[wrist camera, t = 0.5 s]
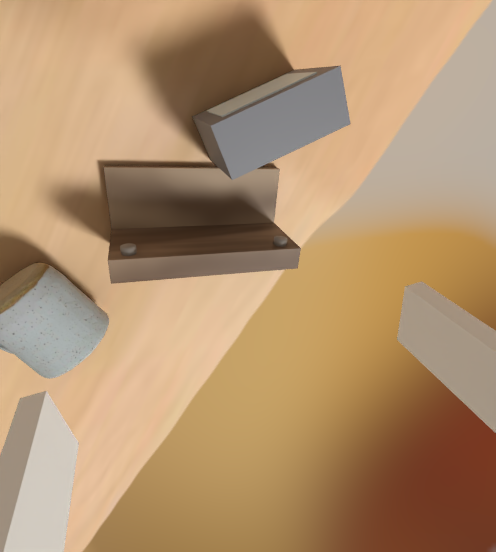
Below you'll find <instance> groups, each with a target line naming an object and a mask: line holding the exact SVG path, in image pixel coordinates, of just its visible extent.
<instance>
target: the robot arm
mask: <svg viewBox="0 0 496 552" xmlns="http://www.w3.org/2000/svg"><path fill="white" fill-rule="evenodd" d="M397 340H398V341H399V342H400V343H401V344H402V345H403V346H404V347H405V348H406V349H407V350H409V351H410V352H411V353H412V354H413V355H414V356H415V357H416V358H417V359H418V360H419V361H420V362H421V363H422V364H423V365H424V366H425V367H427V368H428V369H429V370H430V371H431V372H432V373H433V374H434V375H435V376H436V377H437V378H438V379H439V380H440V381H441V382H442V383H443V384H444V385H445V386H447V387H448V388H449V389H450V390H451V391H452V392H453V393H454V394H455V395H456V396H457V397H458V398H459V399H460V400H461V401H462V402H464V403H465V404H466V405H467V406H468V407H469V408H470V409H471V410H472V411H473V412H474V413H475V414H476V415H477V416H478V417H479V418H480V419H481V420H482V421H484V422H485V423H486V424H487V425H488V426H489V427H490V428H491V429H492V430H493V431H494V432H495V433H496V331H495V330H493V329H492V328H490V327H489V326H487V325H486V324H484V323H483V322H481V321H480V320H478V319H477V318H475V317H474V316H472V315H471V314H469V313H468V312H466V311H465V310H464V309H462V308H461V307H459V306H458V305H456V304H454V303H453V302H451V301H450V300H448V299H447V298H446V297H444V296H443V295H441V294H440V293H438V292H436V291H435V290H434V289H432V288H431V287H429V286H428V285H426V284H425V283H423V282H419V283H415V284H412V285H409V286H405V292H404V298H403V304H402V311H401V318H400V324H399V330H398V337H397ZM78 445H79V443H78V441H77V440H76V438H75V436H74V435H73V433H72V431H71V430H70V428H69V427H68V425H67V423H66V422H65V420H64V418H63V417H62V415H61V414H60V412H59V410H58V409H57V407H56V405H55V404H54V402H53V401H52V399H51V397H50V396H49V394H48V392H47V391H44V392H41V393H37V394H34V395H30V396H27V397H23V398H20V400H19V403H18V406H17V409H16V412H15V415H14V418H13V420H12V423H11V426H10V429H9V432H8V435H7V438H6V441H5V444H4V446H3V449H2V452H1V455H0V552H64V546H65V539H66V531H67V524H68V517H69V510H70V502H71V495H72V488H73V481H74V474H75V466H76V459H77V452H78Z"/></svg>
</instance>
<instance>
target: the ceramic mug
mask: <svg viewBox="0 0 496 552" xmlns="http://www.w3.org/2000/svg"><path fill="white" fill-rule="evenodd" d="M108 324H109V318H108V315H107V314H106V313H105V312H104V311H103V310H102V309H101V308H99V307H98V306H97V305H96V304H95V303H94V302H93V301H92V300H91V299H90V298H88V297H87V296H86V295H85V294H84V293H83V292H82V291H80V290H79V289H78V288H77V287H76V286H75V285H73V284H72V283H71V282H70V281H69V280H68V279H67V278H66V277H65V276H64V275H63V274H61V273H60V272H59V271H58V270H56V269H54V268H53V267H52V266H50V265H48V264H46V263H34V264H32V265H29V266H28V267H26V268H24V269H22V270H21V271H19V272H18V273H16V274H15V275H13V276H12V277H11V278H9V279H8V280H7V281H5V282H4V283H3V284H2V285H0V349H2V350H4V351H6V352H9V353H12V354H15V355H16V356H17V357H18V358H19V359H21V360H22V361H23V362H24V363H26V364H27V365H28V366H29V367H31V368H32V369H33V370H34V371H36V372H37V373H38V374H39V375H41V376H43V377H45V378H55V377H58V376H60V375H62V374H65V373H66V372H68V371H70V370H71V369H73V368H74V367H75V366H76V365H78V364H79V363H80V362H82V361H83V360H84V359H85V358H86V357H87V356H89V355H90V354H91V353H92V351H93V350H94V349H95V348H96V346H97V345H98V344H99V342H100V341H101V340H102V338H103V337H104V335H105V332H106V330H107V327H108Z"/></svg>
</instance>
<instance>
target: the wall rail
mask: <svg viewBox="0 0 496 552" xmlns="http://www.w3.org/2000/svg"><path fill="white" fill-rule="evenodd" d="M279 171H280V169H278V168H272V167H259V168H257V169H255V170H253V171H251V172H249V173H246V174H244V175H242V176H240V177H238V178H236V179H234V180H232V179H230V178H229V177H228V176H227V175H226V174H225V173H224V172H223V171H222V170H221V169H220V168H218V167H189V166H106V165H104V174H105V182H106V190H107V198H108V206H109V213H110V221H111V238H110V246H109V255H108V265H109V272H110V279H111V284H112V283H124V282H136V281H148V280H161V279H173V278H185V277H197V276H209V275H222V274H234V273H246V272H258V271H270V270H283V269H295V268H298V262H299V255H300V249H301V248H300V247H299V246H298V245H297V244H296V243H295V242H294V241H292V240H291V239H290V238H289V237H288V236H287V235H286V234H285V233H284V232H283V231H282V230H281V229H280V228H279V227H278V226H277V225H276V224H275V223H274V217H275V208H276V198H277V189H278V180H279Z"/></svg>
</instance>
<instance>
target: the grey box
mask: <svg viewBox="0 0 496 552" xmlns="http://www.w3.org/2000/svg"><path fill="white" fill-rule="evenodd" d="M193 120H194V122H195V124H196V127H197V129H198V131H199V134H200V136H201V139H202V141H203V143H204V146H205V148H206V150H207V153H208V155H209V157H210V160H211V161H212V162H213V163H214V164H215V165H216V166H217V167H218V168H220V169H221V170H222V171H223V172H224V173H225V174H226V175H227V176H228V177H229V178H230V179H232V180H234V179H236V178H238V177H240V176H242V175H244V174H246V173H249V172H251V171H253V170H255V169H257V168H259V167H261V166H263V165H265V164H267V163H270V162H272V161H274V160H276V159H278V158H280V157H282V156H284V155H286V154H288V153H291V152H293V151H295V150H297V149H299V148H301V147H303V146H305V145H307V144H309V143H312V142H314V141H316V140H318V139H320V138H322V137H324V136H326V135H328V134H330V133H332V132H335V131H337V130H339V129H341V128H343V127H345V126H347V125H349V124H350V118H349V113H348V107H347V101H346V95H345V90H344V84H343V78H342V72H341V67H340V66H332V67H321V68H310V69H298V70H293V71H290V72H288V73H286V74H284V75H282V76H280V77H277V78H275V79H273V80H271V81H269V82H267V83H264V84H262V85H260V86H258V87H256V88H253V89H251V90H249V91H247V92H245V93H243V94H240V95H238V96H236V97H234V98H232V99H230V100H227V101H225V102H223V103H221V104H219V105H216V106H214V107H212V108H210V109H208V110H206V111H203V112H201V113H199V114H197V115H195V116H193Z"/></svg>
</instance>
